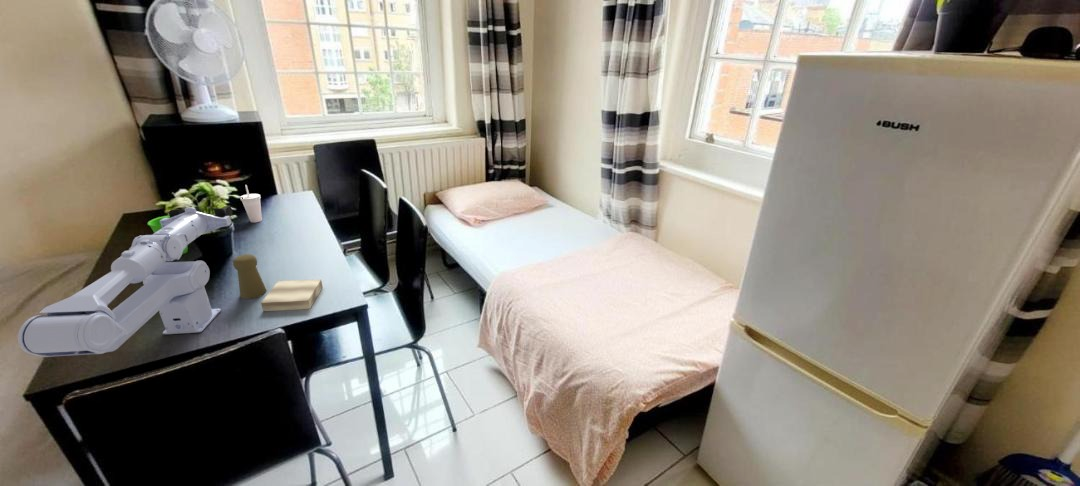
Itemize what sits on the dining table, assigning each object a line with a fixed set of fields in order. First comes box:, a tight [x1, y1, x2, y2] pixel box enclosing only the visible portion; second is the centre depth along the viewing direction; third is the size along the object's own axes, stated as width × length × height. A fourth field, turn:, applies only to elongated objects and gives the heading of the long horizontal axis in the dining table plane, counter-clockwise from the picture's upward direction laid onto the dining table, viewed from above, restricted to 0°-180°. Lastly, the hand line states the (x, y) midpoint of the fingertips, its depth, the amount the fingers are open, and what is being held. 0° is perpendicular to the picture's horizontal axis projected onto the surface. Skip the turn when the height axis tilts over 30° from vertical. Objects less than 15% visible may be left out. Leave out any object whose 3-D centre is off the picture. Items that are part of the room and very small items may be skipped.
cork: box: [232, 254, 267, 300], centre depth 113 cm, size 6×6×11 cm
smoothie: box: [239, 184, 263, 223], centre depth 158 cm, size 6×6×14 cm
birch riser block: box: [260, 278, 323, 312], centre depth 113 cm, size 11×11×2 cm
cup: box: [147, 215, 189, 255], centre depth 133 cm, size 9×9×11 cm
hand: (214, 209), depth 112 cm, fingers open, 7 cm apart
